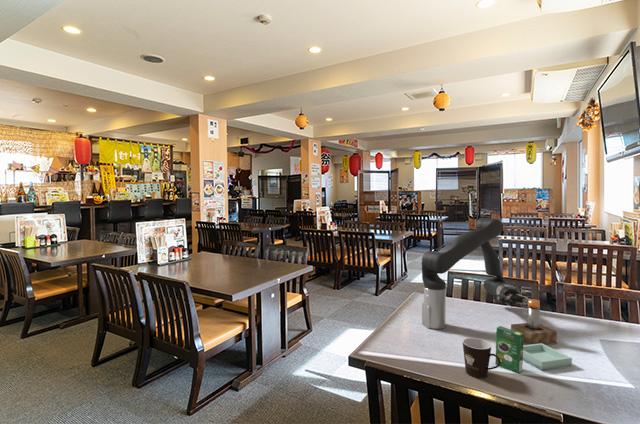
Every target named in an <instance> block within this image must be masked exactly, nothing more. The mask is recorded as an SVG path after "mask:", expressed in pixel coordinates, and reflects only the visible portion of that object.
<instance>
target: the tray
mask: <svg viewBox="0 0 640 424" xmlns="http://www.w3.org/2000/svg"><path fill="white" fill-rule="evenodd" d="M523 361H524V362H525V363H528V364H529V365H530V366H533V367H534V368H536V369H538V370H539V371H542V372H543V371H545V372H546V371H549V370H550V371H551V370H559V369H564V368H565V369H566V368H572V367H573V366H572V365H573V364H572V362H573V357H571V356H568V354H567V355H566V354H565V353H563V352H560V351H558V350H557V349H555V348H552V347H550V346H549V345H544V344H542V343H540V344H531V345H526V344H523Z"/></svg>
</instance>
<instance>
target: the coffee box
mask: <svg viewBox="0 0 640 424" xmlns="http://www.w3.org/2000/svg"><path fill="white" fill-rule="evenodd" d="M495 336H496V339H495V355H497V356H498V357H499V358H500V361H501V364H500V366H499V367H501V368H503V369H507V370H509V371H512V372H514V373H517V374H521V372H523V363H524V362H523V361H524V360H523V345H524V333H520V332H517V331H514V330H511V328H507V327H504V326H502V325H499V326H498V327H496V335H495ZM498 363H499V362H498V359H497V358H496V357H495V365H496V366H497V365H498Z"/></svg>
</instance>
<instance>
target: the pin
mask: <svg viewBox="0 0 640 424" xmlns="http://www.w3.org/2000/svg"><path fill="white" fill-rule="evenodd" d="M535 299H536V298H535ZM535 299H528V304H527V323H528V327H527V328H528V329H530V330H533V331H536V330H539V324H540V314H541V313H540V311H541V302H540V300H539V299H536V300H535Z"/></svg>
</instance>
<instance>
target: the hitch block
mask: <svg viewBox="0 0 640 424" xmlns="http://www.w3.org/2000/svg"><path fill="white" fill-rule="evenodd" d="M527 327H528V322H522V323H512V324H510V329H511V330H514V331H517V332H520V333H524V343H523V345H531V344H540V343H542V344H544V345H546V346H550V345H557V344H558V343H557V340H558V339H557V338H558V331H557V330H555V329H553V328H550V327H548V326H546V325H544V324H541V323H539V330H536V331H533V330H530V329H528V328H527Z"/></svg>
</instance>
